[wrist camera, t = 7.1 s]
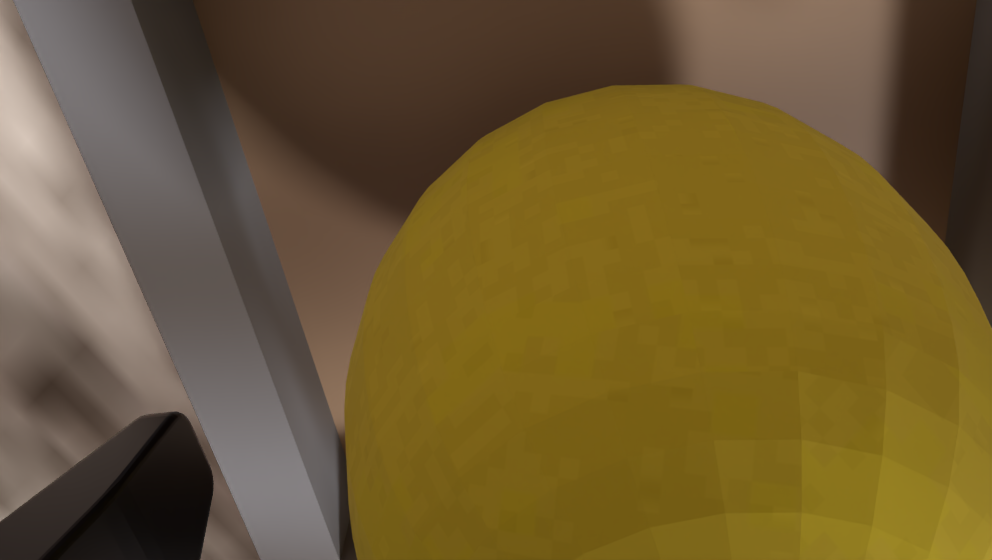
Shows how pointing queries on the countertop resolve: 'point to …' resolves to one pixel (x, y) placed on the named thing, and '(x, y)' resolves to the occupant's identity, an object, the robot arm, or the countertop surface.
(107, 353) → the countertop surface
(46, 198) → the countertop surface
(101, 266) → the countertop surface
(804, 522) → the lemon
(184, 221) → the display plinth
